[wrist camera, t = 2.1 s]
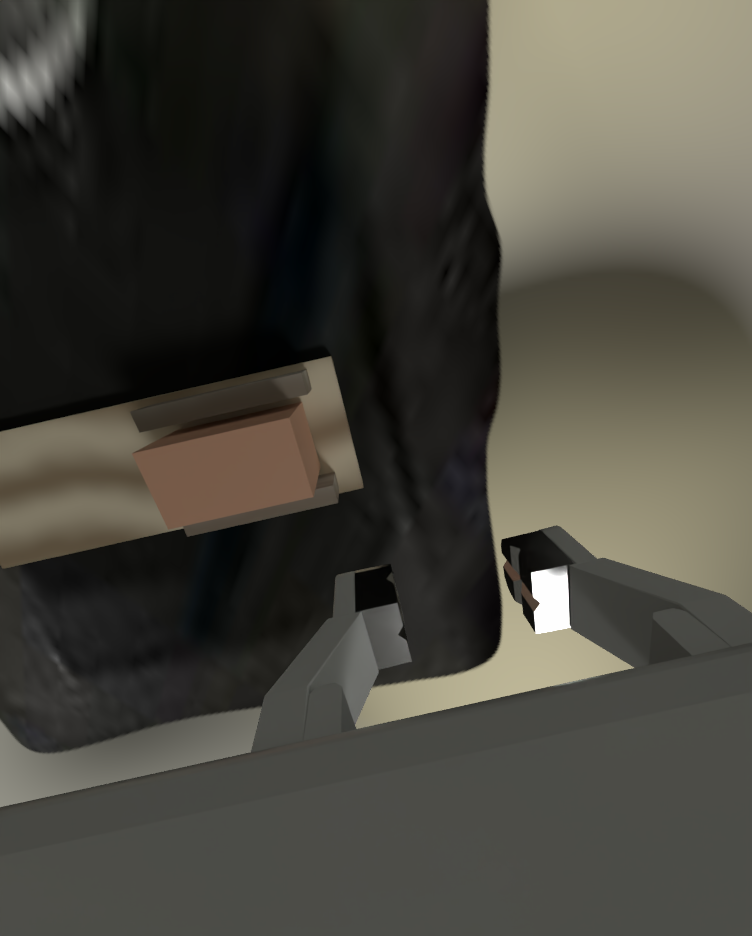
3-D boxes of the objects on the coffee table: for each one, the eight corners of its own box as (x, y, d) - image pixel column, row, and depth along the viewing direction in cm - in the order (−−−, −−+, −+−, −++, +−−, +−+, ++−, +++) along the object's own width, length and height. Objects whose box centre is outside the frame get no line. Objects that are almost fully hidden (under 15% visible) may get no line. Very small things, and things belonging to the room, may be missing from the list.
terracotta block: (176, 430, 28) (131, 453, 22) (301, 401, 28) (289, 417, 22) (203, 493, 30) (168, 529, 24) (320, 466, 29) (313, 497, 24)
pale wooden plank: (-66, 446, 28) (-130, 463, 24) (331, 356, 28) (328, 358, 24) (13, 561, 32) (-32, 591, 28) (362, 483, 31) (364, 502, 28)
